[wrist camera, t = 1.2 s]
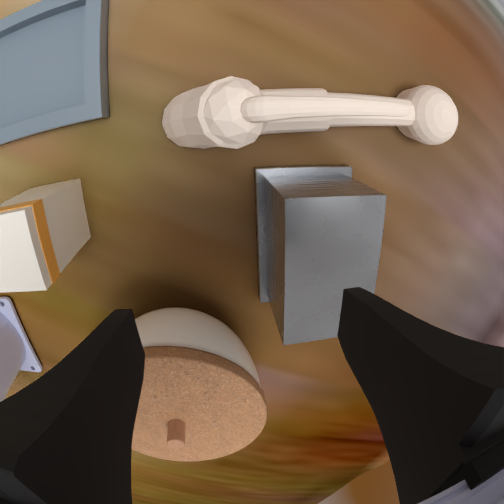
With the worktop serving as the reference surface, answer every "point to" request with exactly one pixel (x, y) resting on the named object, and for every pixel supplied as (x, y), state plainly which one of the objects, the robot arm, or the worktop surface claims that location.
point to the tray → (53, 67)
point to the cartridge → (41, 235)
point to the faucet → (300, 113)
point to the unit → (314, 244)
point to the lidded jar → (195, 388)
